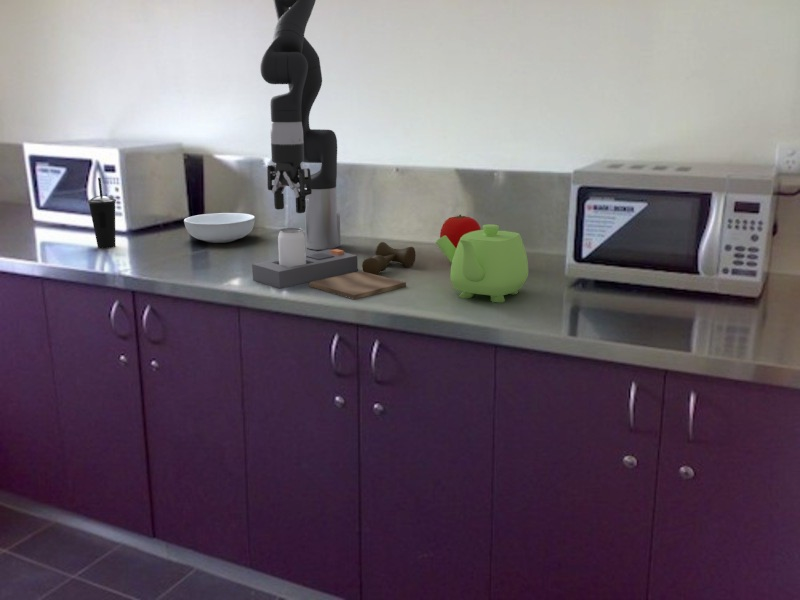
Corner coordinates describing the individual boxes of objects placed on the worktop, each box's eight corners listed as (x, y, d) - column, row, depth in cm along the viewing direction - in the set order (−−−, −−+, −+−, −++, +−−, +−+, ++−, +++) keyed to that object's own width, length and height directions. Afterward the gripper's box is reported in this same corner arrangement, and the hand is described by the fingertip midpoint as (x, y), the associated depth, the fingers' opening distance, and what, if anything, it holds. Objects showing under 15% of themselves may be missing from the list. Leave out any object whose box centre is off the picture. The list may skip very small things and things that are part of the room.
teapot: (456, 277, 193) (457, 212, 188) (540, 288, 182) (543, 220, 178) (405, 301, 172) (405, 229, 168) (495, 315, 161) (498, 239, 157)
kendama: (353, 276, 196) (390, 258, 213) (387, 282, 192) (422, 263, 209) (352, 253, 194) (390, 236, 211) (387, 258, 190) (423, 241, 207)
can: (301, 282, 188) (299, 232, 185) (276, 281, 190) (273, 231, 186) (310, 275, 194) (308, 227, 191) (285, 274, 196) (283, 227, 192)
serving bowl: (266, 235, 246) (265, 213, 244) (238, 248, 226) (237, 225, 224) (205, 232, 250) (203, 210, 248) (172, 245, 231) (170, 222, 229)
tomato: (487, 266, 203) (488, 217, 199) (447, 269, 200) (448, 219, 197) (472, 257, 213) (473, 210, 210) (434, 259, 211) (435, 212, 207)
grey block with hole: (330, 264, 207) (329, 246, 205) (357, 271, 199) (357, 252, 198) (252, 280, 191) (251, 260, 189) (279, 288, 183) (278, 268, 182)
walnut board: (360, 274, 195) (360, 270, 195) (405, 286, 184) (405, 282, 184) (309, 286, 184) (309, 282, 184) (354, 299, 173) (353, 295, 173)
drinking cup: (126, 245, 230) (119, 177, 225) (104, 250, 224) (96, 180, 219) (109, 243, 234) (101, 175, 229) (87, 247, 228) (79, 178, 223)
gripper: (318, 142, 181) (320, 212, 185) (282, 139, 191) (285, 206, 195) (292, 144, 176) (295, 216, 180) (256, 141, 186) (259, 209, 190)
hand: (289, 210), depth 187 cm, fingers open, 8 cm apart
